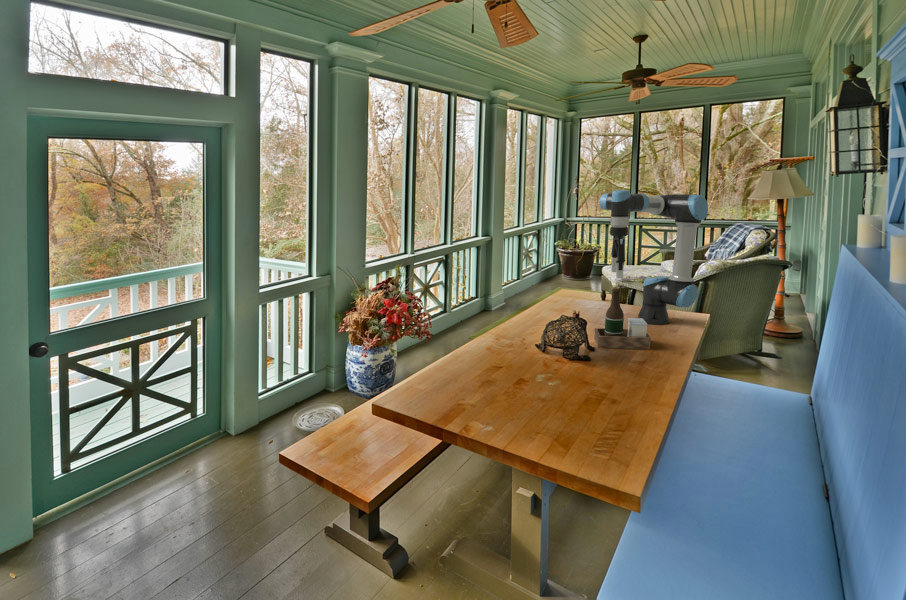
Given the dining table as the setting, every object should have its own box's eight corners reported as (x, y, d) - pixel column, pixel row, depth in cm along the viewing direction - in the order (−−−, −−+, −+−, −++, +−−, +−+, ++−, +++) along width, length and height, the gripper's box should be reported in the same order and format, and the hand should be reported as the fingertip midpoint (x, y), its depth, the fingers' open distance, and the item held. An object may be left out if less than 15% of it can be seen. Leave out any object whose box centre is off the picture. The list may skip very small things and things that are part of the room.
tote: (643, 340, 250) (644, 329, 249) (649, 349, 237) (650, 338, 236) (594, 338, 253) (594, 328, 252) (597, 347, 240) (598, 336, 239)
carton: (641, 338, 249) (642, 318, 246) (646, 345, 238) (647, 324, 236) (626, 338, 249) (628, 318, 247) (630, 345, 239) (632, 324, 237)
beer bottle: (612, 344, 240) (615, 291, 235) (600, 340, 247) (603, 288, 242) (626, 342, 244) (629, 289, 238) (613, 337, 250) (616, 286, 245)
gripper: (606, 223, 249) (604, 269, 254) (615, 229, 225) (612, 280, 230) (623, 223, 248) (620, 270, 253) (634, 229, 224) (631, 280, 229)
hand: (616, 274), depth 241 cm, fingers open, 13 cm apart
